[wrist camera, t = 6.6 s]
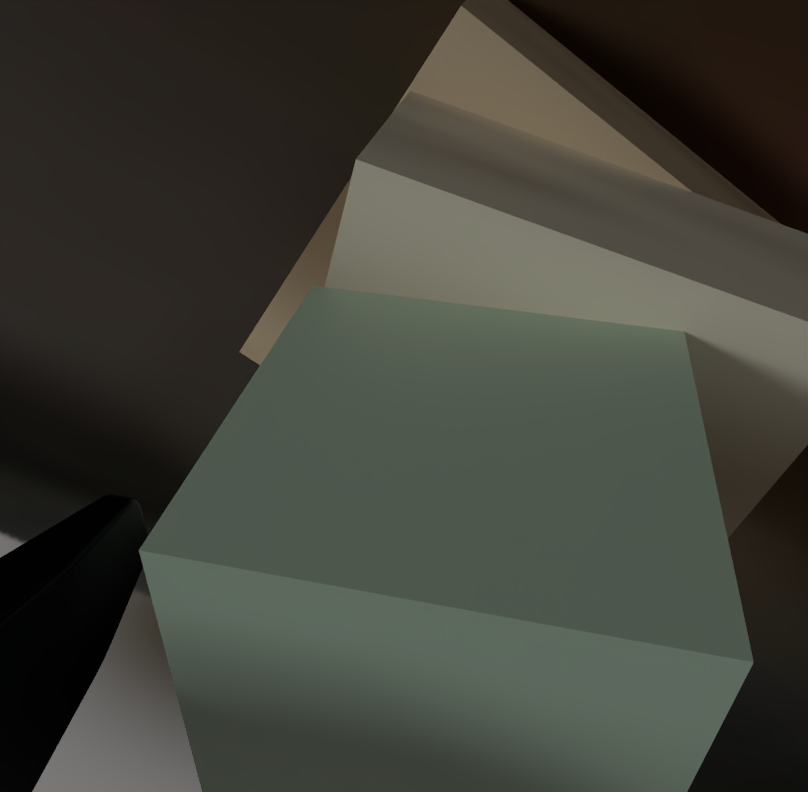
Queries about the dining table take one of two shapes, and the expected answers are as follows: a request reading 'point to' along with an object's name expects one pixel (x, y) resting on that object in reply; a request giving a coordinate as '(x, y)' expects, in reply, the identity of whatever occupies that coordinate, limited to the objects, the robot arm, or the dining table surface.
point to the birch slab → (592, 266)
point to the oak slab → (517, 127)
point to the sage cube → (452, 560)
